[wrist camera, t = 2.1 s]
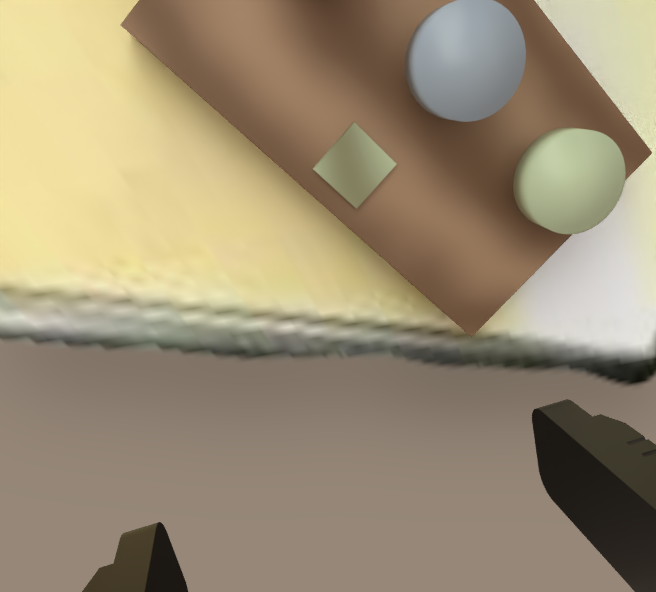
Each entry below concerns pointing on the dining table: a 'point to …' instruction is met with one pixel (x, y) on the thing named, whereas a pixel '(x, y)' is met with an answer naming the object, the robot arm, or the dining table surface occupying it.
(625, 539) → the robot arm
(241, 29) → the console
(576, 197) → the button sage
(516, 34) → the button slate
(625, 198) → the dining table surface
